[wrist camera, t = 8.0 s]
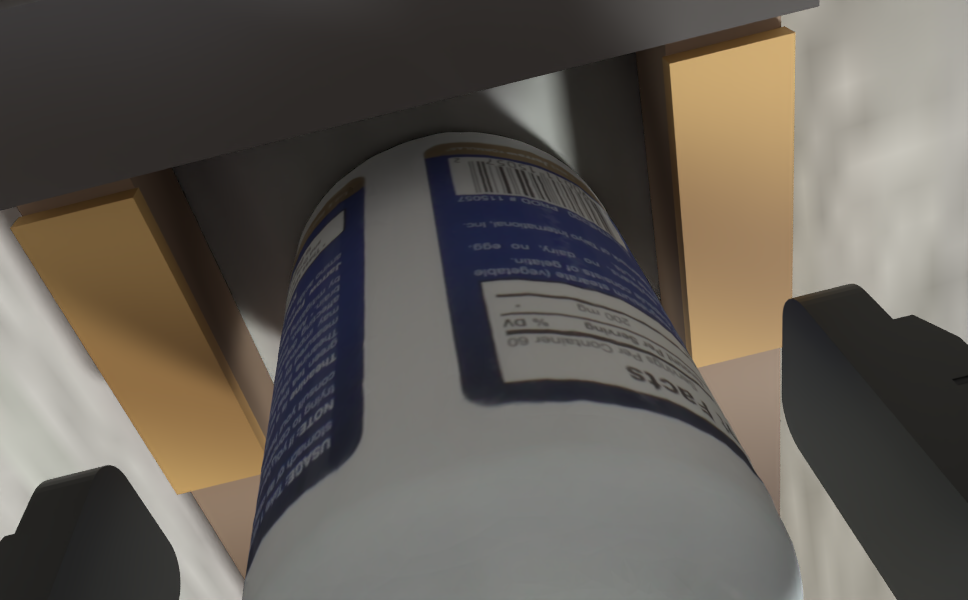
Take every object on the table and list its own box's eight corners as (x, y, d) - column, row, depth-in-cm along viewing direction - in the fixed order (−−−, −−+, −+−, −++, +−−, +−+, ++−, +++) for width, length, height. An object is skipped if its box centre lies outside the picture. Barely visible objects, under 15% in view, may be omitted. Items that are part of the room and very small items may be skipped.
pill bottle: (387, 439, 15) (411, 1198, 7) (227, 213, 12) (-50, 1066, 4) (654, 329, 14) (1019, 1026, 6) (550, 61, 12) (983, 720, 3)
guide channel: (-44, -7, 10) (-150, 48, 8) (733, -204, 10) (830, -200, 8) (407, 792, 22) (411, 896, 20) (757, 709, 22) (798, 804, 20)
